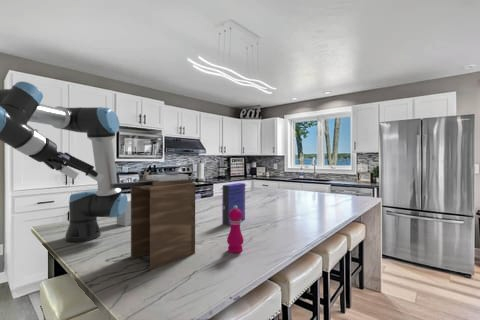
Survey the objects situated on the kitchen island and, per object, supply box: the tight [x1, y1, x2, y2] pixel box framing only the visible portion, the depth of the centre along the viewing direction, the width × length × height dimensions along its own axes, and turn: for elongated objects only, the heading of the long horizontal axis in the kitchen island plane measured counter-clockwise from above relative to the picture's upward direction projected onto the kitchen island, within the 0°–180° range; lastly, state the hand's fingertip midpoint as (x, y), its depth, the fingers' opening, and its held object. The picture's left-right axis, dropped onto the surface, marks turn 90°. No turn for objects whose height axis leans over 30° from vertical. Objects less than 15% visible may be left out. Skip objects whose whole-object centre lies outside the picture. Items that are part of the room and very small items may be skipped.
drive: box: [110, 171, 189, 189], centre depth 99 cm, size 10×30×4 cm, turn 138°
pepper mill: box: [226, 205, 244, 254], centre depth 109 cm, size 7×7×20 cm
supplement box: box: [116, 197, 131, 227], centre depth 150 cm, size 9×9×15 cm
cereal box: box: [221, 182, 246, 226], centre depth 156 cm, size 17×5×24 cm, turn 144°
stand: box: [130, 178, 196, 270], centre depth 103 cm, size 17×20×32 cm
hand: (88, 177), depth 95 cm, fingers open, 13 cm apart
